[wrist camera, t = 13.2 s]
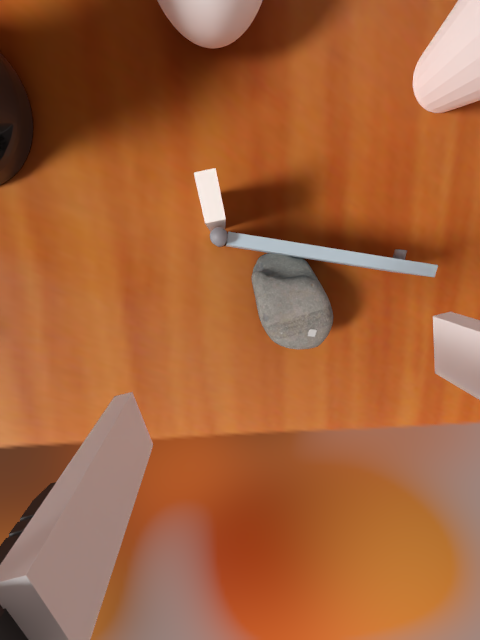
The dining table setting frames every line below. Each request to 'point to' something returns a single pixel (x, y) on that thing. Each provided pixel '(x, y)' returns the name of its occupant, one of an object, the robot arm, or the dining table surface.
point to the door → (322, 253)
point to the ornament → (211, 19)
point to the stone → (291, 301)
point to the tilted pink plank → (210, 198)
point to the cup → (451, 62)
